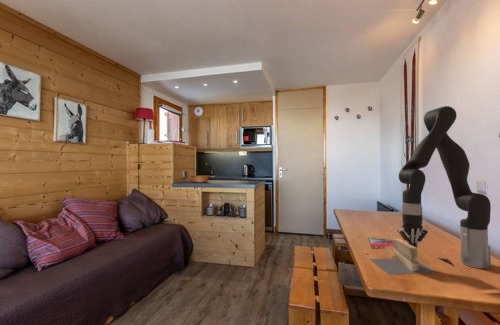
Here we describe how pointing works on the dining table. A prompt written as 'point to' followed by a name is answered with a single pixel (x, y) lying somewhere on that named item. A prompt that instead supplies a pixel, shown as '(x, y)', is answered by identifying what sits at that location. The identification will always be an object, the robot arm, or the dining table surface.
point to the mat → (399, 267)
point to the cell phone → (446, 261)
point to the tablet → (380, 243)
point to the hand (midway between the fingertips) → (412, 250)
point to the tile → (406, 254)
